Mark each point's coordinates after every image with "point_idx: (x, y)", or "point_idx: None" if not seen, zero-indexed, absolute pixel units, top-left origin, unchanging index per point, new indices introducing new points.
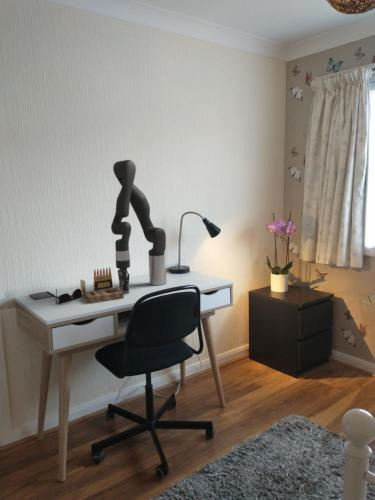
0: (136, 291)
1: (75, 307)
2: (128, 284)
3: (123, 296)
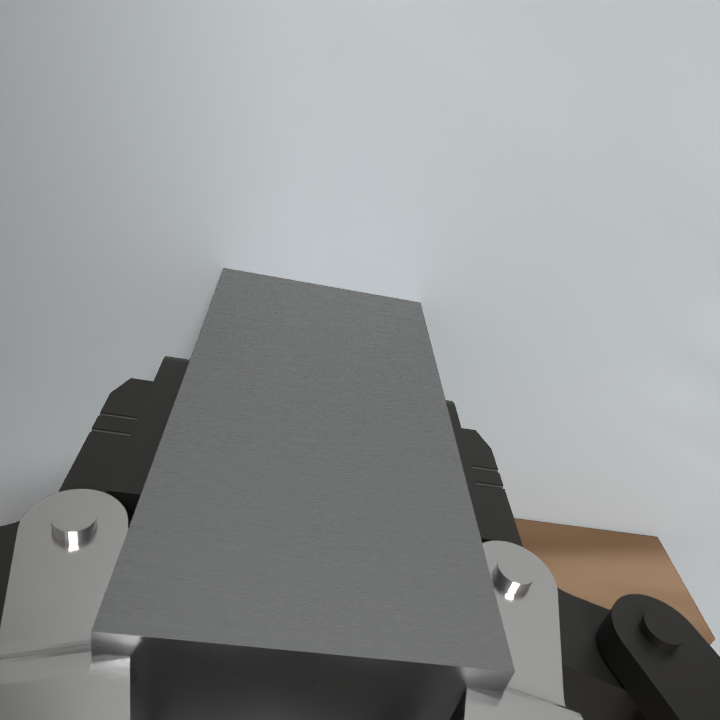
0: (394, 23)
1: None
2: (457, 468)
3: (671, 570)
